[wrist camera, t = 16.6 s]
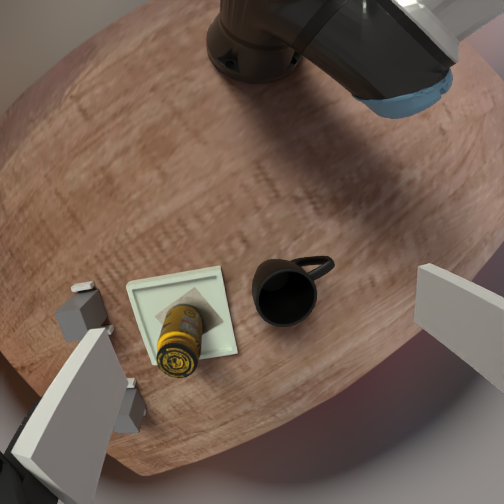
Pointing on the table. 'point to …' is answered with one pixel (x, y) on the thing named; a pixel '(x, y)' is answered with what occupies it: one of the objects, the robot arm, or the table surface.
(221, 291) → the tray
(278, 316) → the mug
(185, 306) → the condiment
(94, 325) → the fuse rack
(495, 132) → the table surface
